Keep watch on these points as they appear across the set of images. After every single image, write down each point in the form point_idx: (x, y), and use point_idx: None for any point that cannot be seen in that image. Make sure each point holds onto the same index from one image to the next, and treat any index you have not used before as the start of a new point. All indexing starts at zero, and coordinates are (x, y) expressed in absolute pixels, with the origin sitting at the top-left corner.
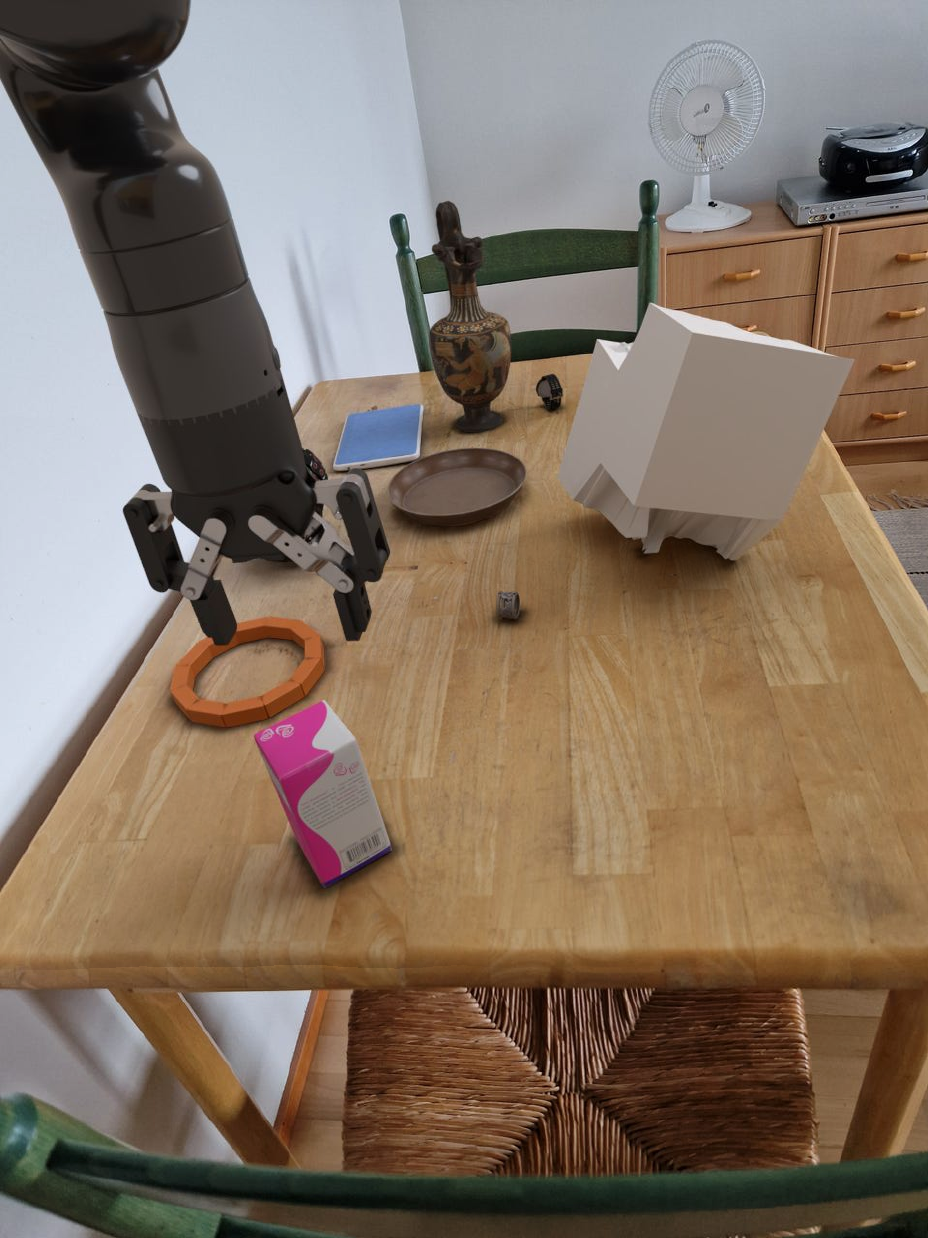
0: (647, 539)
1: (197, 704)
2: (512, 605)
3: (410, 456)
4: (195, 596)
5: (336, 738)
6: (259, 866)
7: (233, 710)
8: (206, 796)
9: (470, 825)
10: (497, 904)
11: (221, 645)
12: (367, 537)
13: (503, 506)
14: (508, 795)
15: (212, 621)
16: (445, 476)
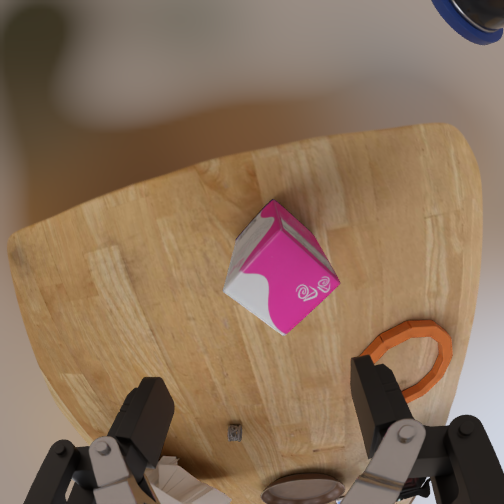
0: (173, 463)
1: (430, 331)
2: (228, 432)
3: (340, 500)
4: (396, 427)
5: (243, 290)
6: (333, 208)
7: (404, 333)
8: (399, 261)
9: (190, 269)
10: (150, 213)
11: (359, 356)
12: (32, 492)
13: (270, 484)
14: (175, 297)
15: (369, 389)
16: (315, 494)
